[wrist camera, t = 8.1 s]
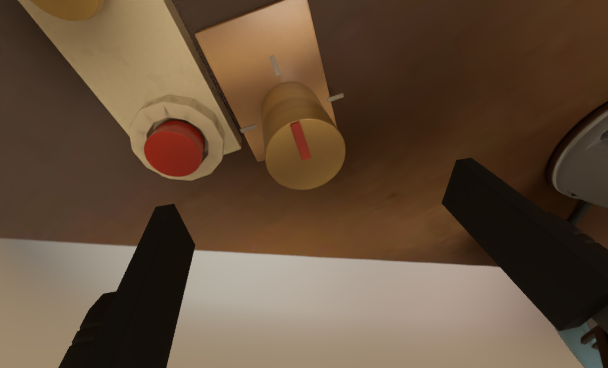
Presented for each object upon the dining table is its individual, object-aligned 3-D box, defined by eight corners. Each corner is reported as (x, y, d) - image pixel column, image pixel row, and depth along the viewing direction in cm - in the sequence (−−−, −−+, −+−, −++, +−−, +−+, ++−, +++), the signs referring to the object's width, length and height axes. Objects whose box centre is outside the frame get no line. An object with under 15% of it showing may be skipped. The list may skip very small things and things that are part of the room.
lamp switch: (214, 154, 22) (211, 167, 20) (171, 169, 22) (165, 183, 20) (188, 112, 19) (182, 123, 18) (140, 130, 20) (130, 141, 18)
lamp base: (243, 142, 26) (242, 163, 22) (171, 168, 26) (159, 192, 23) (129, -83, 16) (98, -103, 12) (14, -36, 16) (-45, -44, 13)
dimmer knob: (326, 129, 23) (353, 178, 17) (273, 147, 23) (281, 202, 17) (311, 73, 20) (338, 108, 14) (251, 94, 20) (251, 138, 14)
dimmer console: (343, 127, 26) (352, 141, 24) (260, 156, 27) (261, 173, 24) (312, -13, 19) (322, -15, 17) (199, 29, 19) (191, 34, 17)
